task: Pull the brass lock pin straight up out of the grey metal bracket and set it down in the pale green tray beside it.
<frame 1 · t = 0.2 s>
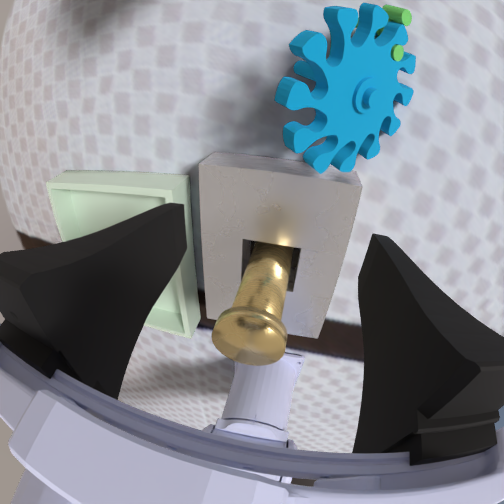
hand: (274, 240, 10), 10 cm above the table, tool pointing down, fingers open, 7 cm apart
parts tray: (130, 247, 26), on the table
pin bracket: (275, 244, 22), on the table
lock pin: (264, 285, 18), in the pin bracket
gear: (353, 82, 15), on the table
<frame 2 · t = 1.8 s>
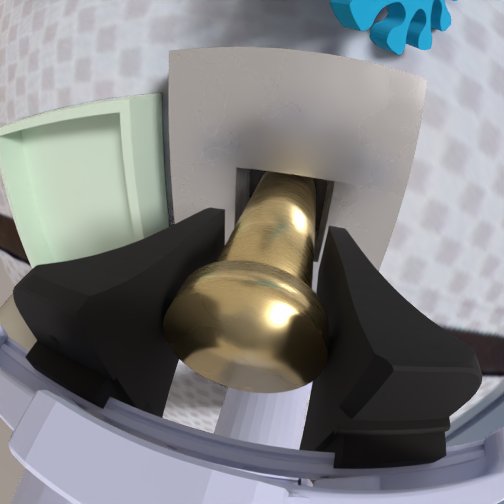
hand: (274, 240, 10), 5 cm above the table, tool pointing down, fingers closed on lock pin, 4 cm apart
parts tray: (88, 211, 18), on the table
pin bracket: (287, 191, 14), on the table
lock pin: (273, 241, 10), in the pin bracket, touching gripper
travel mug: (43, 302, 29), on the table
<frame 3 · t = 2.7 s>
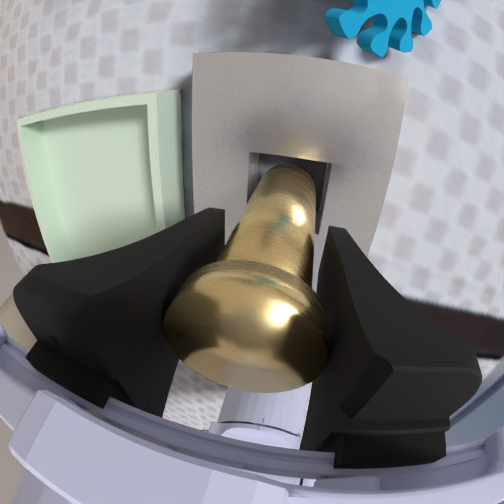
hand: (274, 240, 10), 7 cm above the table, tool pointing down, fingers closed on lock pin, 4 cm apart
parts tray: (107, 197, 20), on the table
pin bracket: (291, 175, 16), on the table
lock pin: (273, 241, 10), point 7 cm above the table, touching gripper
travel mug: (53, 290, 31), on the table
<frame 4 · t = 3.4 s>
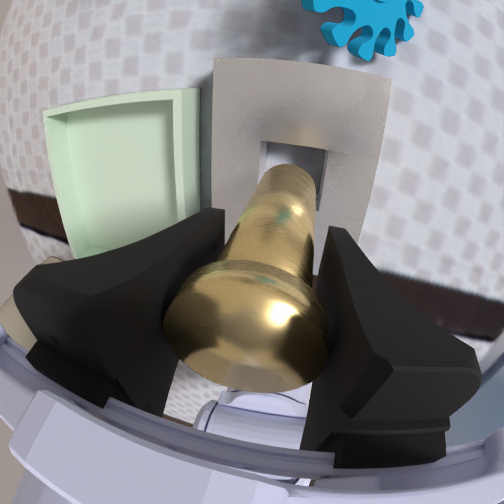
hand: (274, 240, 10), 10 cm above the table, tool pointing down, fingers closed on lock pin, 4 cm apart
parts tray: (127, 183, 22), on the table
pin bracket: (294, 163, 19), on the table
lock pin: (273, 241, 10), point 10 cm above the table, touching gripper
travel mug: (66, 277, 33), on the table
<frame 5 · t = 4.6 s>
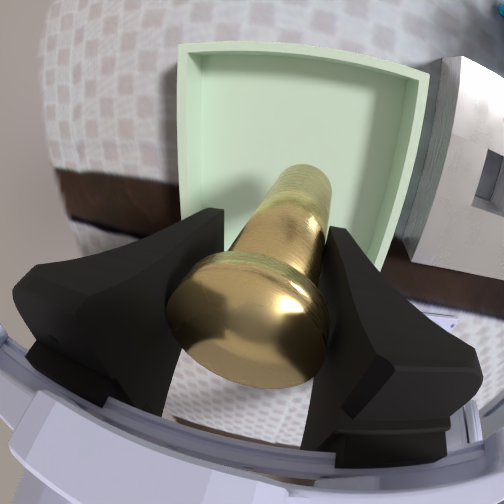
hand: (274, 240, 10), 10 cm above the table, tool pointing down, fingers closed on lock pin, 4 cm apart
parts tray: (294, 166, 18), on the table
pin bracket: (480, 171, 15), on the table
lock pin: (284, 238, 10), point 10 cm above the table, tilted 5°, touching gripper
when the fingers open (7 cm above the table, at t = 5.4 s): lock pin drops 1 cm, resting on parts tray.
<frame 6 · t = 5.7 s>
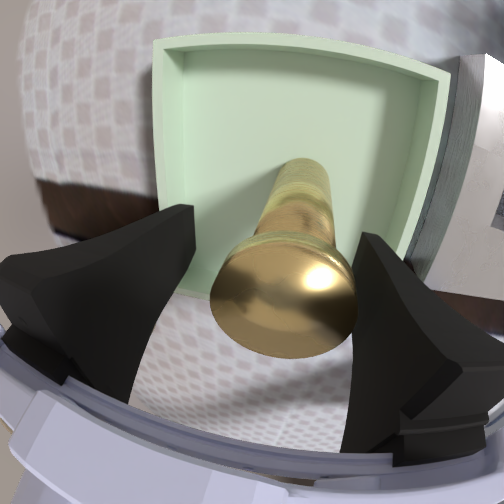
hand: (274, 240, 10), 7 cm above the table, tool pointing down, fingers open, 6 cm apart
parts tray: (290, 179, 16), on the table
pin bracket: (498, 184, 12), on the table
lock pin: (297, 225, 11), in the parts tray, point 6 cm above the table
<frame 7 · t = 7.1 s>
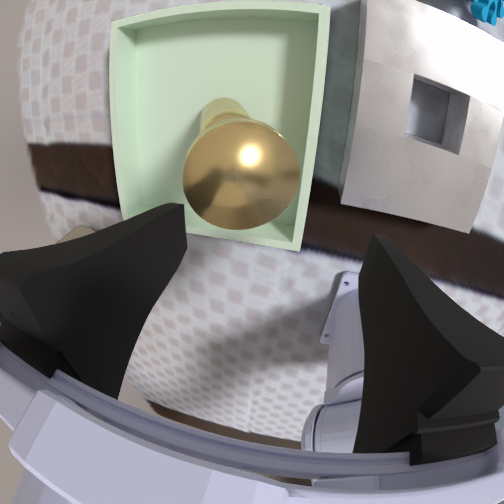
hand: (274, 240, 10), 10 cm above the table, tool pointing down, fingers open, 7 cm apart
parts tray: (216, 117, 18), on the table
pin bracket: (422, 109, 14), on the table
lock pin: (229, 139, 13), in the parts tray, tilted 22°
travel mug: (95, 254, 29), on the table
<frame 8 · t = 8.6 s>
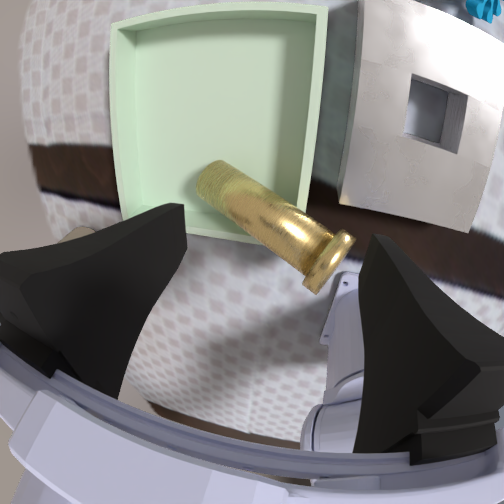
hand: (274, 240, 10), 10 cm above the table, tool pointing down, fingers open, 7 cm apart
parts tray: (215, 118, 18), on the table
pin bracket: (420, 109, 14), on the table
lock pin: (269, 218, 17), resting on parts tray, tilted 67°
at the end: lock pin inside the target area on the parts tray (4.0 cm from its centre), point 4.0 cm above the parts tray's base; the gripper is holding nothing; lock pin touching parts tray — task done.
